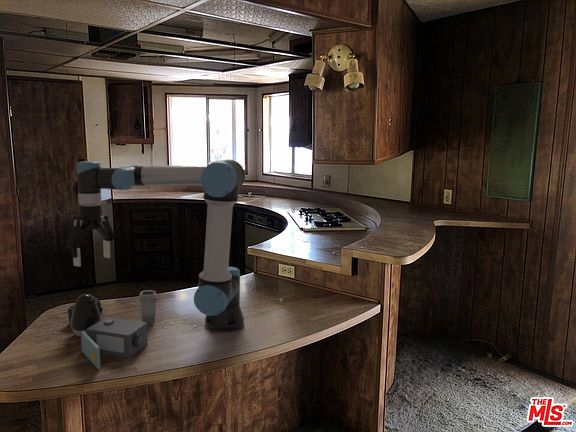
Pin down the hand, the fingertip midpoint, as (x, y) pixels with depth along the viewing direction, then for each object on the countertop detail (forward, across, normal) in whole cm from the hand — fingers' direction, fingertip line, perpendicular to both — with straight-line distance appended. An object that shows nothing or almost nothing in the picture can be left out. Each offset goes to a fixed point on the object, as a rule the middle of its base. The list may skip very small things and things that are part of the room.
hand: (92, 261), depth 168 cm
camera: (+26, -4, -8) cm, 28 cm away
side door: (+25, +19, +19) cm, 37 cm away
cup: (+26, -14, +13) cm, 32 cm away
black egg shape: (+26, +6, +2) cm, 27 cm away
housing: (+26, +8, +20) cm, 33 cm away
